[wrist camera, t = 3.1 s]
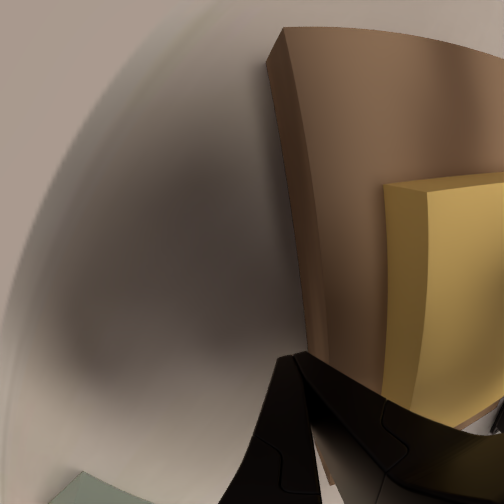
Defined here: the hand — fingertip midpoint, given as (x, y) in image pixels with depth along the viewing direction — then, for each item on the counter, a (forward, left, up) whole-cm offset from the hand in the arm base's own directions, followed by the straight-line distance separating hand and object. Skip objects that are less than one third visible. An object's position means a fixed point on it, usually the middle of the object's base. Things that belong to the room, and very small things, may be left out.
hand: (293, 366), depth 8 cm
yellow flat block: (-6, 0, 0) cm, 6 cm away
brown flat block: (-7, 0, -3) cm, 8 cm away
